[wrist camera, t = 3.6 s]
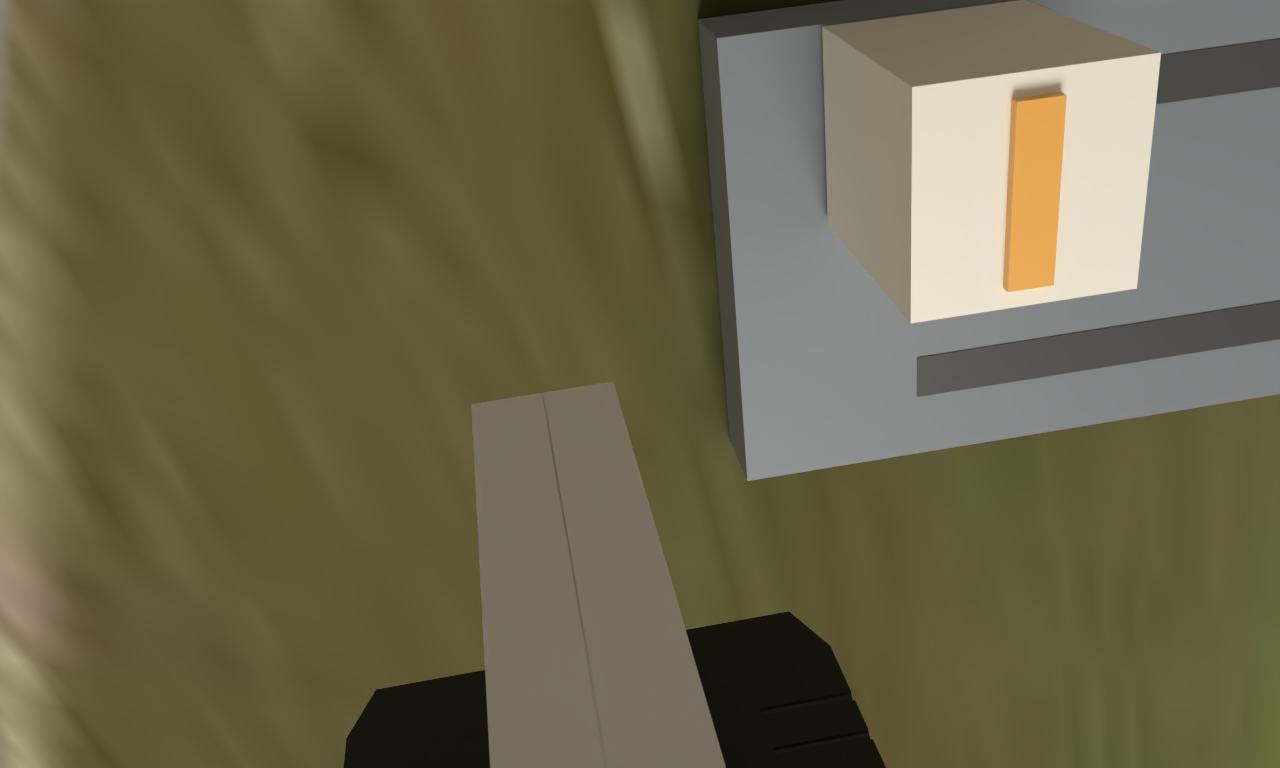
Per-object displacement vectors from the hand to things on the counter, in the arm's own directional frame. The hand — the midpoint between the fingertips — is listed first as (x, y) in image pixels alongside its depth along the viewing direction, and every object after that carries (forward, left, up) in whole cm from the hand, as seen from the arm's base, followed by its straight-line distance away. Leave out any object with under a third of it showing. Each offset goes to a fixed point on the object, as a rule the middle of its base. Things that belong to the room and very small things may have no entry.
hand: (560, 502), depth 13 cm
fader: (0, +8, -12) cm, 14 cm away
